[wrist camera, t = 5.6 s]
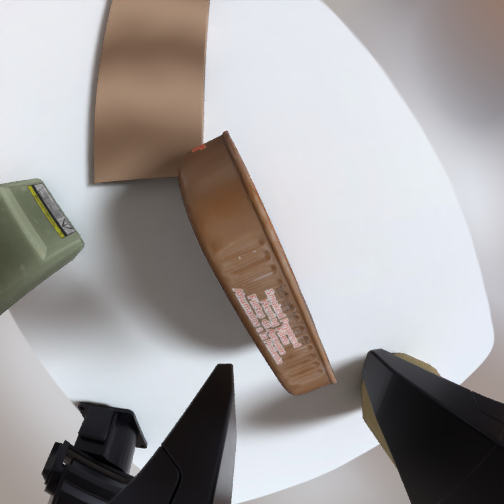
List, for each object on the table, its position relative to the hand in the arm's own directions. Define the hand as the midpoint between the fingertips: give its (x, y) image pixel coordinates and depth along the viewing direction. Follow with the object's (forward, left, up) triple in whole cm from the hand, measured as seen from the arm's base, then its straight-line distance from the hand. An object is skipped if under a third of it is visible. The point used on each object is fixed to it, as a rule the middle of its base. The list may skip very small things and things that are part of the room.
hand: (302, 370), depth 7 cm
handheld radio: (+3, +15, -12) cm, 20 cm away
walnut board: (+13, +7, -12) cm, 19 cm away
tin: (0, 0, -12) cm, 12 cm away
